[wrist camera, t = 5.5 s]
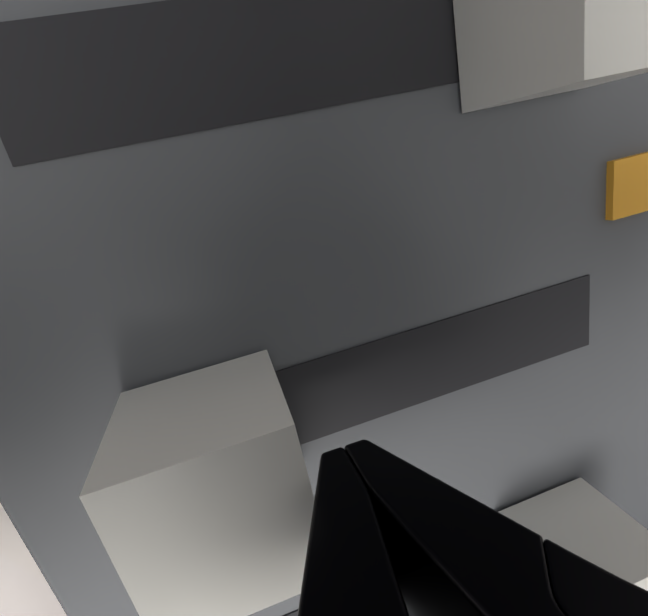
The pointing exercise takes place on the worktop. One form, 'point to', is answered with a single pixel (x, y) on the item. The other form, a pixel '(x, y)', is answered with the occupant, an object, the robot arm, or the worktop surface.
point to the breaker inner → (588, 528)
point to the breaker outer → (545, 47)
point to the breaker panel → (311, 251)
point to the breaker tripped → (204, 492)
